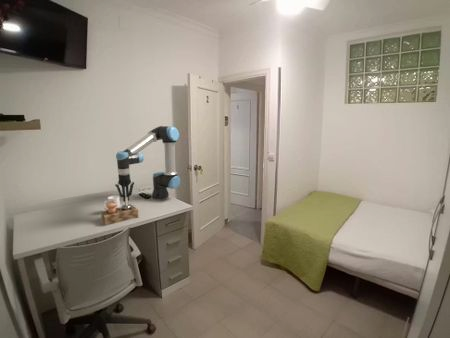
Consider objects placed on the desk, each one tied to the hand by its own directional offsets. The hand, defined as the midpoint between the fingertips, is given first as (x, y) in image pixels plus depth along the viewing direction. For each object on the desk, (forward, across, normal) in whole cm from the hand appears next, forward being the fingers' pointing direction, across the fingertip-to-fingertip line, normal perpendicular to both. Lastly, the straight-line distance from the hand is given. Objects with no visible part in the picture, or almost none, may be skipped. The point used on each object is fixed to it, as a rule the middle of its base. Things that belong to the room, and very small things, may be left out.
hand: (126, 205), depth 168 cm
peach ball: (+4, +10, 0) cm, 11 cm away
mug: (+9, +7, -14) cm, 18 cm away
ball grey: (+8, 0, 0) cm, 8 cm away
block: (+9, +5, 0) cm, 10 cm away
